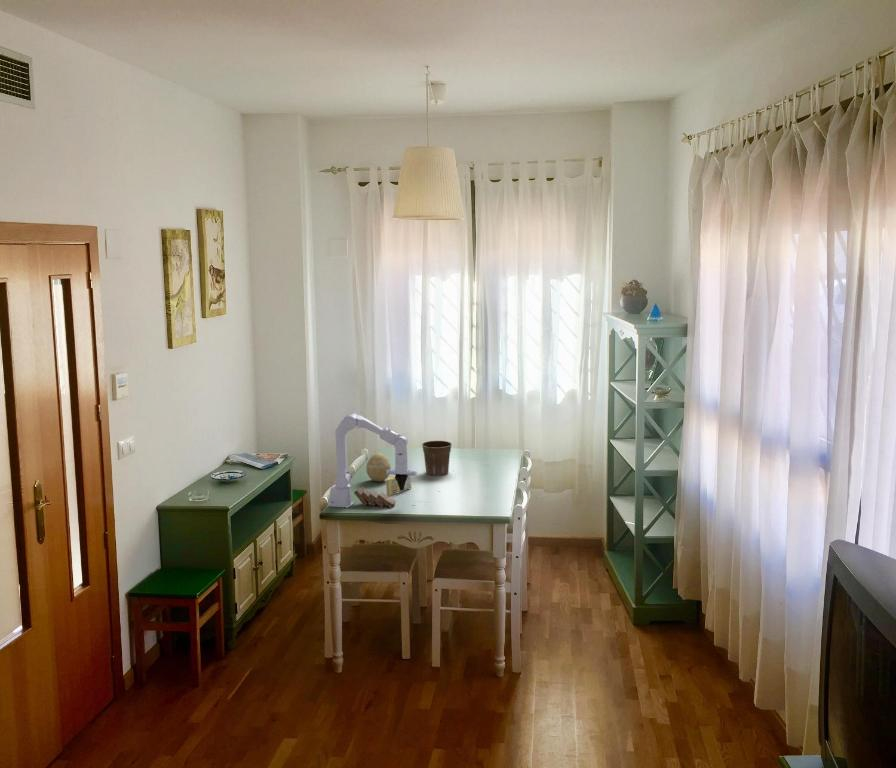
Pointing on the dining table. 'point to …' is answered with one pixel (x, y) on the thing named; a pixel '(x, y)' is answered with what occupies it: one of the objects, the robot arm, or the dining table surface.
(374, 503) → the tile
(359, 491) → the end tile
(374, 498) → the middle tile
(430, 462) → the plant pot
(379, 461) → the fossilized egg
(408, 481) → the candy box
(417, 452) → the dining table surface
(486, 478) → the dining table surface
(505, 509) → the dining table surface
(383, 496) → the far tile
